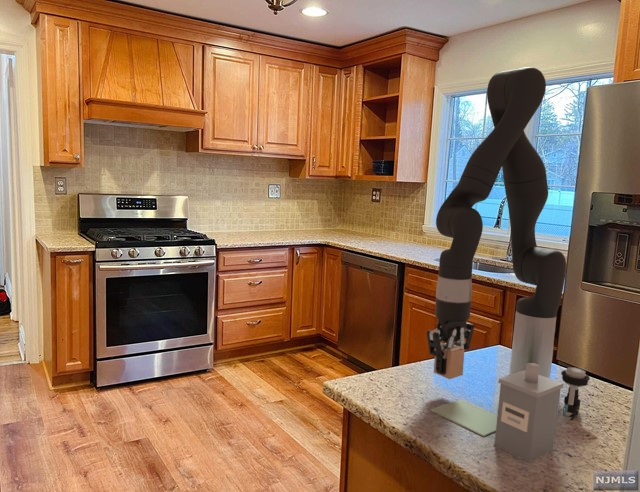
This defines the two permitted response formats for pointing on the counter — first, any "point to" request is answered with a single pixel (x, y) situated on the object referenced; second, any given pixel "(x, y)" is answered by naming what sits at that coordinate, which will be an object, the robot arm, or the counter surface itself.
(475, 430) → the pad
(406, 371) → the counter surface
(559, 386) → the box
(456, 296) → the robot arm
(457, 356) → the block
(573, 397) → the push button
